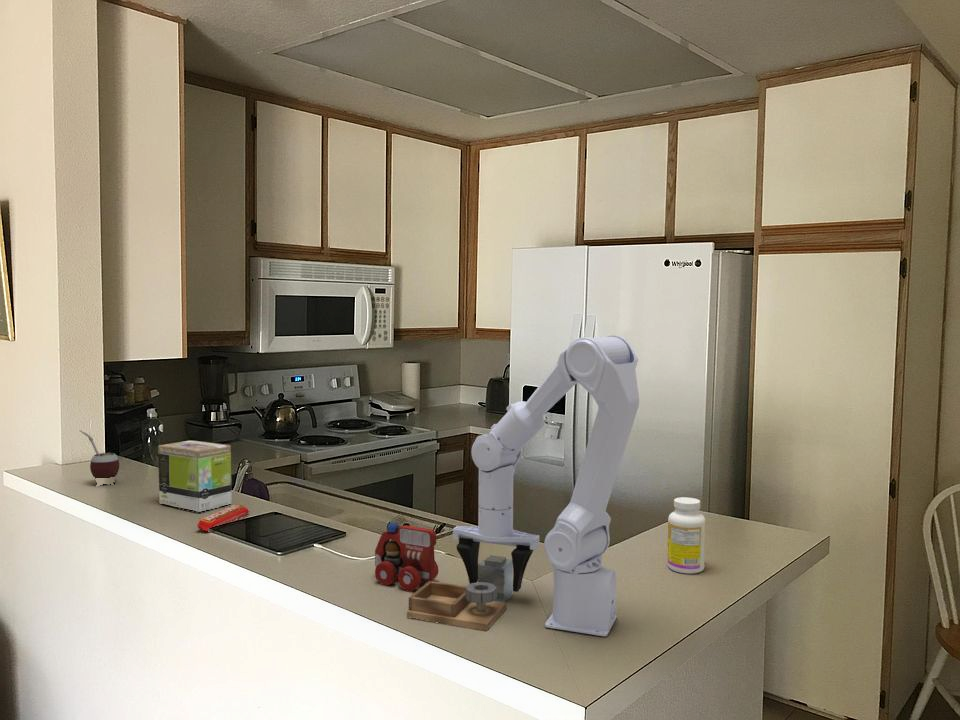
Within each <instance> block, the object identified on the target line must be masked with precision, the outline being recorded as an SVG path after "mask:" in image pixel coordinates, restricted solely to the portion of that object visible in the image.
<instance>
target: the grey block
mask: <svg viewBox="0 0 960 720" xmlns="http://www.w3.org/2000/svg"><path fill="white" fill-rule="evenodd" d="M478 582H486V583H491V584H493V585H495V586H496V587H497V598H496V599H495V600H494V601H498V602H505V603H507V601H508V600H509V599H510V598H511V597H512V596H513V592H514V591H513V562H512V558H511V559H510V558H507V556H502V555H501V556H500V555H492V554H491V555H489V556H486V557H485V558H484V559H483V560H481V562H479V563H478Z"/></svg>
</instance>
